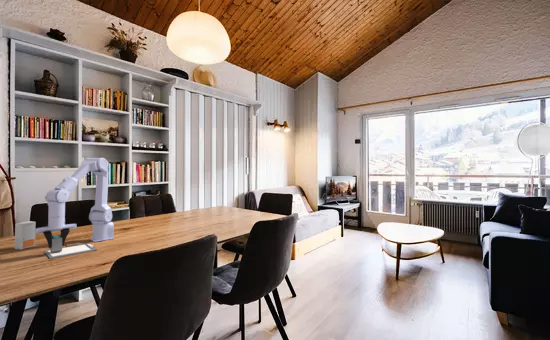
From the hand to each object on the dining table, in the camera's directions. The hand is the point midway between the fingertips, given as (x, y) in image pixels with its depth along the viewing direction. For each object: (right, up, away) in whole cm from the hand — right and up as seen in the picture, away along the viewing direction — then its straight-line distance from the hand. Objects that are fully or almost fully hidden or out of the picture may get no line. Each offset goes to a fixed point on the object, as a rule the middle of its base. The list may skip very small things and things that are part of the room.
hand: (56, 246), depth 120 cm
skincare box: (-21, -3, +8) cm, 23 cm away
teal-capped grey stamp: (0, -2, 0) cm, 2 cm away
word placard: (-2, -3, +13) cm, 14 cm away
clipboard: (+4, -3, +4) cm, 6 cm away
